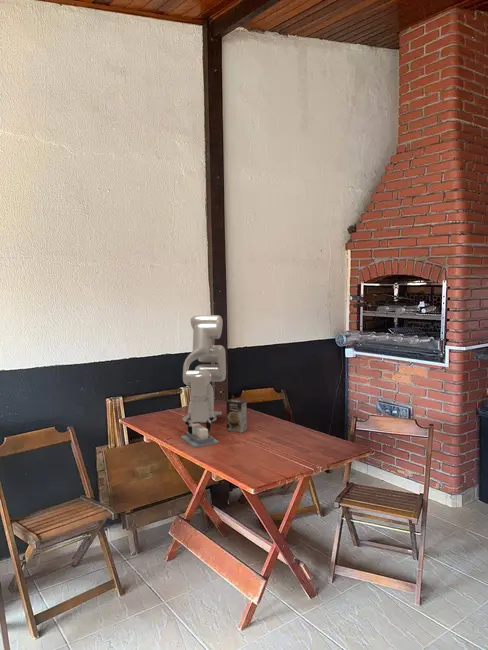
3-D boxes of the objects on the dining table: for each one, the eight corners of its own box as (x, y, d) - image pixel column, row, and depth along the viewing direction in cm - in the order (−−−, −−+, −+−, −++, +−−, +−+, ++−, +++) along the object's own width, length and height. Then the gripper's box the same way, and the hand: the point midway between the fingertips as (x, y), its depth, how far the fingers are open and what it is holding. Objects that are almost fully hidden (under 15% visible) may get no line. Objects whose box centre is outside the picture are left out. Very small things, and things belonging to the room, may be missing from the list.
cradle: (204, 433, 274) (204, 428, 273) (218, 443, 259) (218, 437, 259) (180, 438, 267) (180, 432, 267) (194, 447, 253) (194, 441, 252)
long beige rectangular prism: (198, 434, 269) (198, 423, 269) (208, 441, 259) (207, 429, 258) (191, 435, 268) (190, 424, 267) (200, 442, 257) (200, 430, 256)
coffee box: (226, 430, 279) (225, 400, 277) (232, 427, 285) (231, 398, 283) (241, 433, 275) (241, 402, 273) (247, 429, 280) (246, 399, 279)
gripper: (211, 394, 268) (211, 427, 270) (179, 399, 260) (180, 432, 262) (217, 397, 262) (218, 431, 264) (185, 402, 254) (186, 436, 255)
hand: (199, 432), depth 263 cm, fingers open, 9 cm apart
